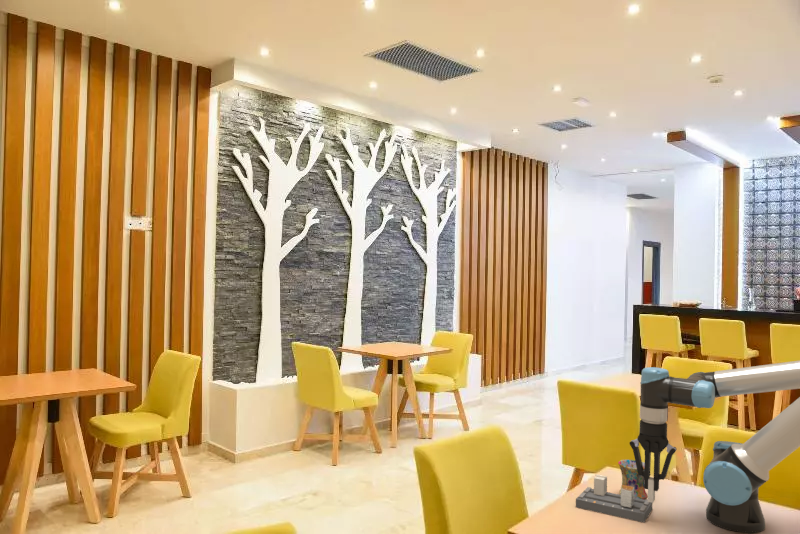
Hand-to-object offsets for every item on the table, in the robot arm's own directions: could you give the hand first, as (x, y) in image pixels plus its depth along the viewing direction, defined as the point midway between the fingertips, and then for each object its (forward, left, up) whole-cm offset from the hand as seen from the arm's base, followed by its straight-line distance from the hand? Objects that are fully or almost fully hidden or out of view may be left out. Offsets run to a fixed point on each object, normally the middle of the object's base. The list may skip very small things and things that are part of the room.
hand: (651, 500), depth 180 cm
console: (+11, -2, -6) cm, 13 cm away
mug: (+9, -17, -6) cm, 21 cm away
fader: (+7, 0, -3) cm, 7 cm away
